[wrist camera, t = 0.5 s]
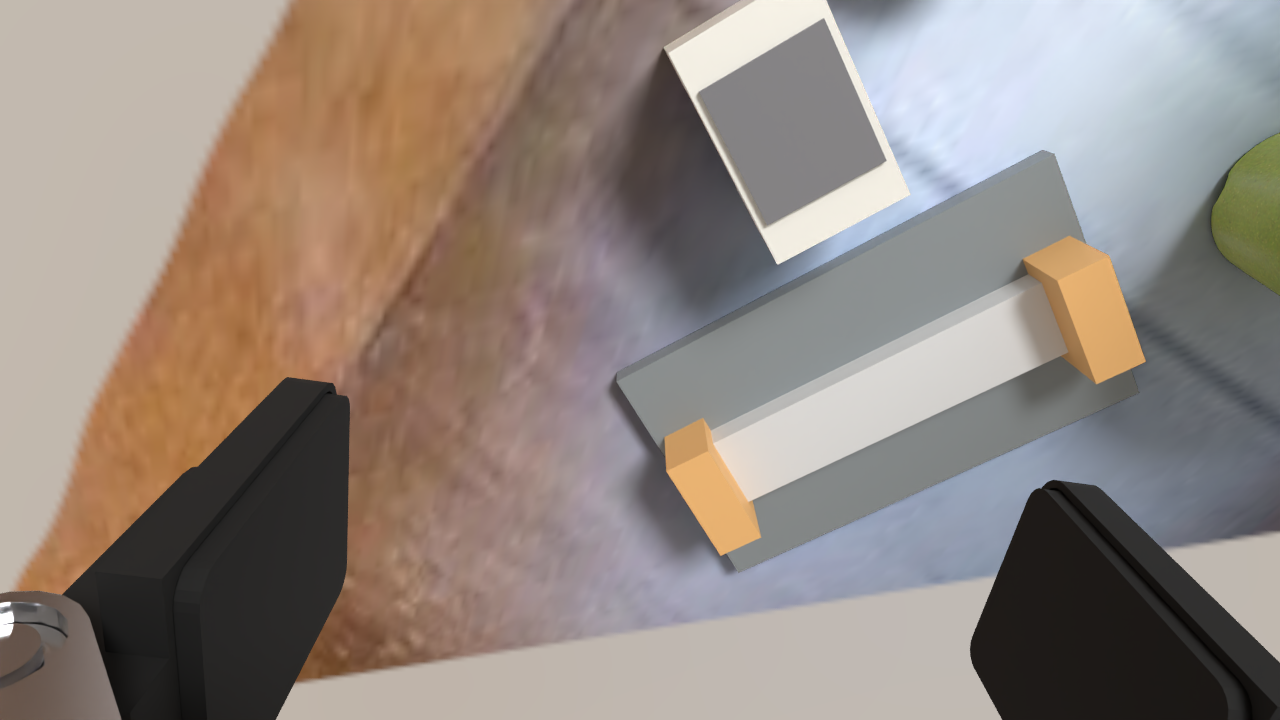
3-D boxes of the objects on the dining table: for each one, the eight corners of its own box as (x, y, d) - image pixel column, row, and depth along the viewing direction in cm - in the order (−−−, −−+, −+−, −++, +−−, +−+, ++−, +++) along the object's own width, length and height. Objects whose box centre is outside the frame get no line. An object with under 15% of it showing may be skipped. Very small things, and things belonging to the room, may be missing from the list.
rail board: (1042, 150, 32) (1094, 166, 28) (1126, 383, 36) (1181, 424, 33) (616, 372, 36) (614, 412, 32) (736, 560, 40) (746, 614, 36)
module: (780, -24, 30) (812, -35, 24) (864, 164, 32) (912, 195, 27) (663, 47, 31) (668, 53, 25) (754, 224, 33) (778, 266, 28)
